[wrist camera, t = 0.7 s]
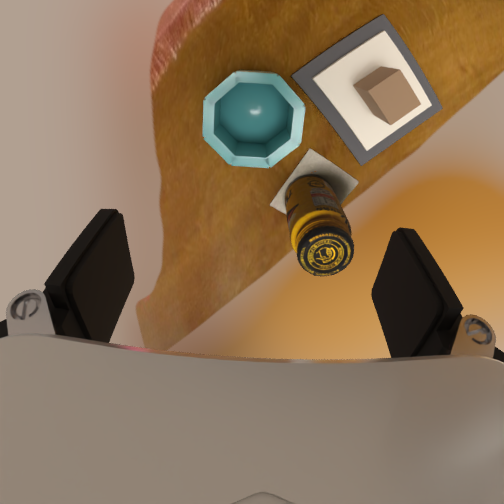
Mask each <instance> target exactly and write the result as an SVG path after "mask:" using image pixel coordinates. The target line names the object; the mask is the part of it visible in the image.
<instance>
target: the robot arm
mask: <svg viewBox="0 0 504 504" xmlns="http://www.w3.org/2000/svg"><path fill="white" fill-rule="evenodd" d="M133 284H134V271H133V266H132V262H131V257H130V252H129V247H128V242H127V236H126V230H125V225H124V219H123V215H122V214H121V213H119V212H118V210H116V209H101V210H100V211H99V212H98V213H97V214H96V215H95V217H94V218H93V219H92V220H91V221H90V223H89V224H88V225H87V226H86V228H85V229H84V230H83V231H82V233H81V234H80V235H79V237H78V238H77V239H76V241H75V242H74V243H73V244H72V246H71V247H70V249H69V250H68V251H67V252H66V254H65V255H64V257H63V258H62V259H61V261H60V262H59V263H58V265H57V266H56V268H55V269H54V270H53V272H52V273H51V275H50V276H49V278H48V279H47V281H46V282H45V286H46V288H45V290H44V291H43V293H42V292H41V291H39V290H35V289H34V290H26V291H23V292H21V293H20V294H18V295H17V296H15V297H14V298H13V299H12V300H11V302H10V303H9V304H8V307H7V310H6V318H7V319H5V320H3V321H1V322H0V504H504V352H502V351H501V350H499V349H498V348H496V347H495V342H496V336H495V333H494V330H493V329H492V327H491V326H490V325H489V323H488V322H486V321H485V320H484V319H482V318H481V317H478V316H476V315H466V316H465V317H462V315H461V314H460V313H461V311H462V310H463V307H462V304H461V303H460V301H459V299H458V297H457V296H456V294H455V292H454V291H453V289H452V287H451V285H450V284H449V282H448V281H447V279H446V277H445V276H444V274H443V272H442V271H441V269H440V268H439V266H438V264H437V263H436V261H435V259H434V258H433V256H432V255H431V253H430V252H429V250H428V249H427V247H426V246H425V244H424V243H423V241H422V240H421V238H420V237H419V235H418V234H417V233H416V231H415V230H414V229H408V228H398V229H397V230H396V231H394V232H393V233H392V235H391V238H390V241H389V244H388V247H387V250H386V252H385V255H384V258H383V261H382V264H381V267H380V269H379V272H378V275H377V277H376V280H375V283H374V285H373V288H372V300H373V303H374V306H375V309H376V311H377V314H378V317H379V320H380V323H381V326H382V329H383V332H384V336H385V339H386V342H387V345H388V348H389V351H390V355H391V358H380V359H349V360H348V359H347V360H303V359H266V358H246V357H229V356H217V355H204V354H192V353H183V352H174V351H165V350H156V349H148V348H141V347H133V346H127V345H120V344H113V343H109V341H110V338H111V336H112V333H113V331H114V329H115V326H116V324H117V321H118V319H119V316H120V314H121V312H122V309H123V307H124V304H125V302H126V300H127V297H128V295H129V293H130V291H131V288H132V286H133Z"/></svg>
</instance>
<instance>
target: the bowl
mask: <svg viewBox="0 0 504 504" xmlns="http://www.w3.org/2000/svg"><path fill="white" fill-rule="evenodd" d="M304 105H305V104H304V103H303V102H302V101H301V100H300V98H299V97H298V96H297V95H296V94H295V93H294V91H293V90H292V89H291V88H290V87H289V86H288V85H287V83H286V82H285V81H284V80H283V79H282V78H281V77H280V76H279V75H278V74H277V73H275V72H266V71H252V70H238V71H235V72H234V73H232V74H231V75H230V76H229V77H228V78H227V79H225V80H224V81H223V82H222V83H221V84H220V85H218V86H217V87H216V88H215V89H214V90H213V91H212V92H211V93H209V94H208V95H207V96H206V97H205V99H204V101H203V137H204V140H205V141H206V142H207V143H208V144H209V145H210V146H211V147H212V148H213V149H214V150H215V151H216V152H217V153H218V154H219V155H220V156H221V157H222V158H223V159H224V160H225V161H226V162H227V163H228V164H229V165H230V164H231V166H246V167H261V168H269V166H270V167H272V166H273V165H275V164H276V163H277V162H278V161H280V160H281V159H282V158H284V157H285V156H286V155H288V154H289V153H290V152H292V151H293V150H294V149H295V148H297V147H298V146H299V145H300V144H299V143H301V140H302V132H303V123H304V115H305V106H304Z"/></svg>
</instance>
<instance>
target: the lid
mask: <svg viewBox="0 0 504 504" xmlns="http://www.w3.org/2000/svg"><path fill="white" fill-rule="evenodd" d="M312 80H313V81H314V82H315V83H316V84H317V86H318V87H319V88H320V89H321V91H322V92H323V93H324V94H325V96H326V97H327V98H328V99H329V101H330V102H331V103H332V105H333V106H334V107H335V108H336V110H337V111H338V112H339V114H340V115H341V116H342V118H343V119H344V120H345V122H346V123H347V124H348V126H349V127H350V129H351V130H352V131H353V133H354V134H355V136H356V137H357V138H358V140H359V141H360V143H361V144H362V146H363V147H364V149H365V150H366V151H368V150H369V149H370V148H372V147H373V146H375V145H376V144H377V143H379V142H380V141H382V140H383V139H384V138H386V137H387V136H389V135H390V134H392V133H393V132H394V131H396V130H397V129H399V128H400V127H401V126H403V125H404V124H406V123H407V122H409V121H410V120H411V119H413V118H414V117H416V116H417V115H419V114H420V113H421V112H423V111H424V110H426V109H427V108H429V107H430V106H432V104H431V103H430V101H429V99H428V97H427V95H426V94H425V92H424V90H423V88H422V87H421V85H420V83H419V81H418V80H417V78H416V76H415V75H414V73H413V72H412V70H411V68H410V67H409V65H408V64H407V62H406V61H405V59H404V57H403V56H402V54H401V53H400V51H399V50H398V48H397V47H396V46H395V44H394V43H393V41H392V40H391V38H390V37H389V36H388V34H387V33H386V31H381V32H380V33H378V34H377V35H375V36H373V37H372V38H370V39H369V40H367V41H366V42H364V43H362V44H361V45H359V46H358V47H356V48H355V49H353V50H352V51H350V52H349V53H347V54H346V55H344V56H343V57H341V58H340V59H339V60H337V61H336V62H334V63H333V64H331V65H330V66H328V67H327V68H326V69H324V70H323V71H321V72H320V73H319V74H317V75H316V76H314V77H313V78H312Z"/></svg>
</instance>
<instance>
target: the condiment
mask: <svg viewBox="0 0 504 504" xmlns="http://www.w3.org/2000/svg"><path fill="white" fill-rule="evenodd" d="M314 171H317V172H314ZM311 172H313V173H311ZM357 184H358V181H357V180H356V179H354V178H353V177H352V176H350V175H349V174H347V173H346V172H344V171H343V170H342V169H340V168H339V167H337V166H336V165H334V164H333V163H332V162H330V161H328V160H327V159H325V158H324V157H322V156H321V155H319V154H318V153H316V152H315V151H313V150H312V149H309V150H308V152H307V153H306V155H305V156H304V157H303V159H302V160H301V162H300V163H299V164H298V166H297V167H296V169H295V170H294V171H293V173H292V174H291V175H290V177H289V178H288V179H287V181H286V182H285V184H284V185H283V187H282V188H281V189H280V191H279V192H278V194H277V195H276V197H275V198H274V199H273V201H272V202H271V204H270V206H272V207H274V208H276V209H277V210H279V211H281V212H283V213H285V214H287V222H288V226H289V232H290V240H291V244H292V247H293V249H294V251H295V252H296V253H297V257H298V261H299V263H300V265H301V266H302V268H303V269H304V270H306V271H307V272H309V273H310V274H313V275H314V276H329V275H334V274H336V273H338V272H340V271H342V270H343V269H345V268H346V267H347V265H348V264H349V263H350V262H351V260H352V258H353V254H354V244H353V240H352V238H351V227H350V225H349V222H348V220H347V217H346V215H345V213H344V211H343V209H342V207H341V204H342V202H343V201H344V200H345V198H346V197H347V196H348V195H349V193H350V192H351V191H352V190H353V189H354V188H355V186H356V185H357ZM335 194H336V195H335Z"/></svg>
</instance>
